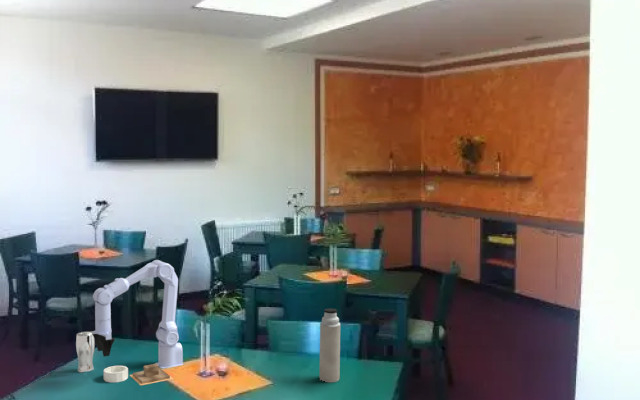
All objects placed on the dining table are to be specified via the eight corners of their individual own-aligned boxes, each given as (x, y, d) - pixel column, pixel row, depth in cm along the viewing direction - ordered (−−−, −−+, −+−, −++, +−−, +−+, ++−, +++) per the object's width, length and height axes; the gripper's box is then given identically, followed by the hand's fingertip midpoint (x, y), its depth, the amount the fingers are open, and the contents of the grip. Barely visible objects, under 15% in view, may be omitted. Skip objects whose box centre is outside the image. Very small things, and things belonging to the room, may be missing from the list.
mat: (161, 370, 265) (161, 369, 265) (173, 380, 254) (173, 378, 254) (129, 376, 258) (129, 375, 257) (140, 386, 247) (140, 385, 247)
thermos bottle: (323, 374, 263) (324, 306, 261) (342, 376, 261) (343, 308, 258) (316, 380, 256) (317, 310, 253) (335, 383, 253) (337, 312, 251)
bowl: (123, 374, 260) (123, 364, 260) (130, 380, 253) (130, 370, 253) (101, 378, 255) (101, 368, 255) (108, 385, 248) (107, 374, 248)
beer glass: (88, 373, 260) (88, 336, 259) (73, 372, 261) (72, 335, 260) (98, 368, 267) (97, 332, 265) (82, 366, 268) (82, 330, 267)
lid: (159, 370, 263) (159, 359, 263) (169, 378, 254) (169, 367, 254) (132, 375, 257) (132, 364, 257) (142, 383, 248) (142, 372, 248)
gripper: (87, 316, 257) (88, 350, 258) (97, 324, 245) (98, 360, 246) (105, 314, 261) (106, 347, 262) (116, 322, 249) (117, 356, 250)
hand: (103, 353), depth 255 cm, fingers open, 7 cm apart
